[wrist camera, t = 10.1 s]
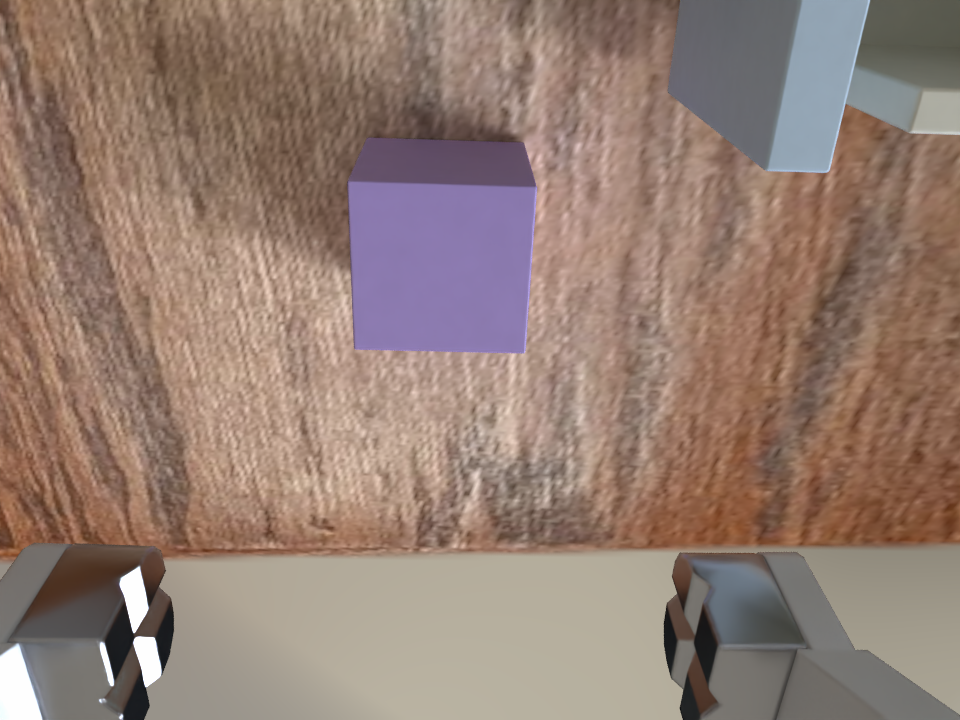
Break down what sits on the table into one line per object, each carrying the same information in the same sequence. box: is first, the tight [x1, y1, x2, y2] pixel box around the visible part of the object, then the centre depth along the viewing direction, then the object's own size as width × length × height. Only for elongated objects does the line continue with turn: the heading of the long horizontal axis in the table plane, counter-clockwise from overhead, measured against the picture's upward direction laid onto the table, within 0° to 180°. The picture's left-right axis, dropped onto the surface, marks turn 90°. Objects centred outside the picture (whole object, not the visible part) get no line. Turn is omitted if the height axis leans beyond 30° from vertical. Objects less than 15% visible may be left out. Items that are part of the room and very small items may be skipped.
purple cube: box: [347, 138, 537, 353], centre depth 22 cm, size 4×4×4 cm
